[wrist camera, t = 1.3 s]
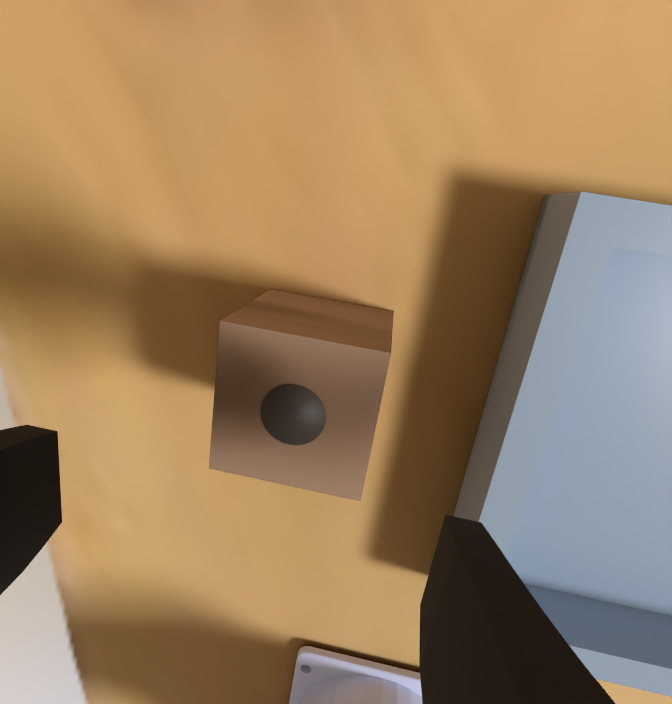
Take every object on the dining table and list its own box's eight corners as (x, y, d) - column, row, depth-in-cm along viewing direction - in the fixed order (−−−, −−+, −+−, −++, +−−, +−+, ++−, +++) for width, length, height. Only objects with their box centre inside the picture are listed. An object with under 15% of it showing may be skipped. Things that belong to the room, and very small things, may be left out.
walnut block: (371, 422, 18) (360, 502, 13) (259, 399, 18) (208, 469, 13) (393, 310, 16) (390, 353, 11) (271, 288, 17) (219, 321, 12)
